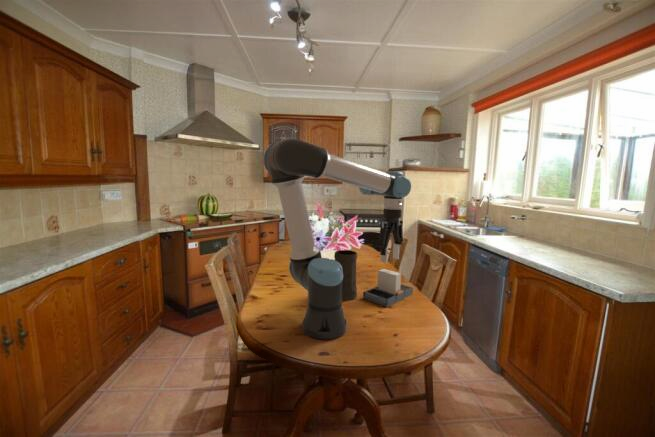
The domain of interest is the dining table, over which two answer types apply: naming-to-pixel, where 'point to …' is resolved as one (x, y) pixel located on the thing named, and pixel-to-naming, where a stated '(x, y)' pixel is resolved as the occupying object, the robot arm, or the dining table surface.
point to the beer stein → (348, 272)
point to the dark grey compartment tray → (387, 295)
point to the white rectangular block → (389, 281)
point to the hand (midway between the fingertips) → (390, 260)
